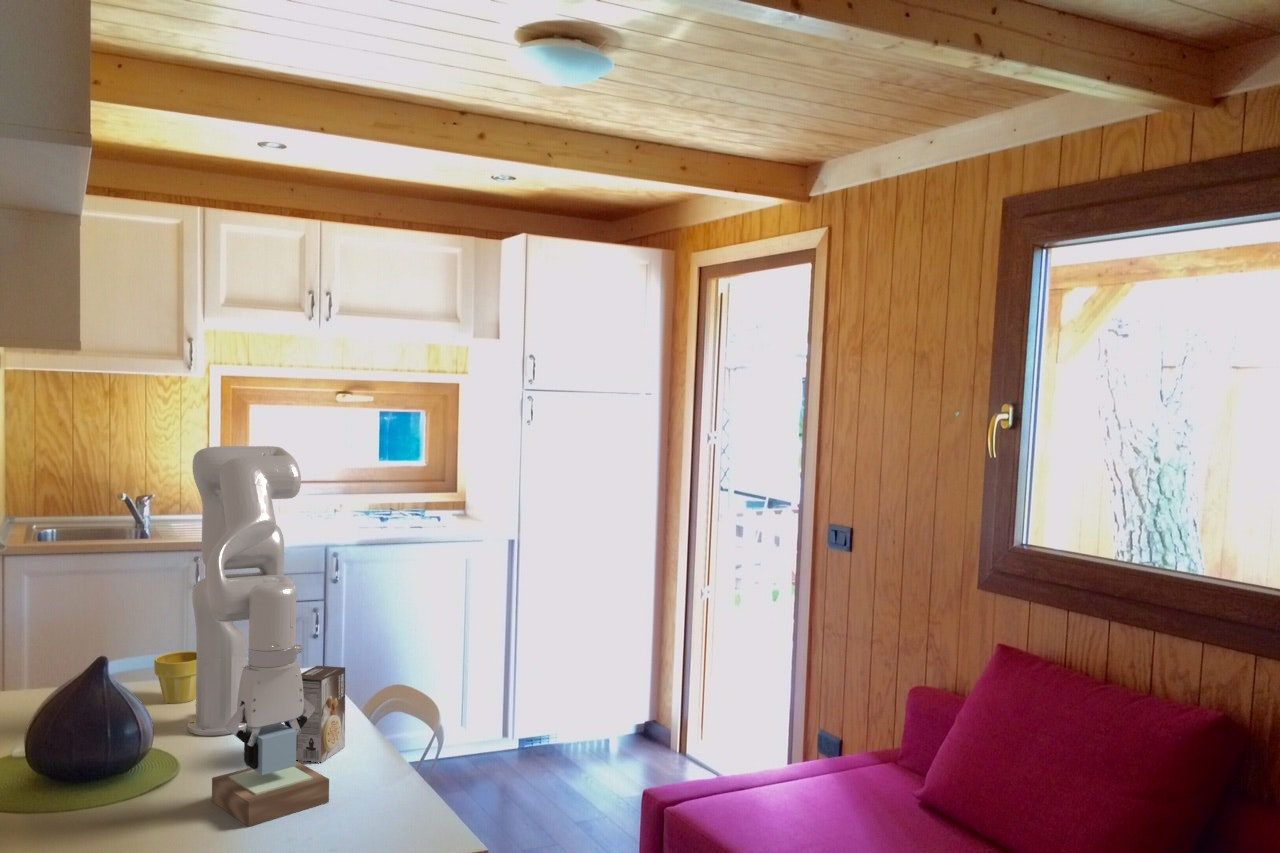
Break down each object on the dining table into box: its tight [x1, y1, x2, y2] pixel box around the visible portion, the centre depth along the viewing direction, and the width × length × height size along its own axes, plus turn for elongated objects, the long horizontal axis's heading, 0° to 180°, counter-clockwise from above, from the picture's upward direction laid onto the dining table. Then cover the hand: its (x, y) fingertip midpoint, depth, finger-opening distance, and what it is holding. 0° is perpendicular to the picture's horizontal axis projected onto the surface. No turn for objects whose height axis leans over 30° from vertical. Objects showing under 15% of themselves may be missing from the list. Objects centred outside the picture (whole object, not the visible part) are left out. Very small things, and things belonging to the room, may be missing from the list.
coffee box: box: [296, 665, 346, 763], centre depth 189 cm, size 9×6×16 cm
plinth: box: [211, 761, 330, 828], centre depth 167 cm, size 14×14×4 cm
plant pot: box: [153, 650, 197, 705], centre depth 221 cm, size 10×10×10 cm
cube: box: [245, 723, 297, 775], centre depth 166 cm, size 6×6×6 cm
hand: (271, 760), depth 166 cm, fingers closed on cube, 6 cm apart
